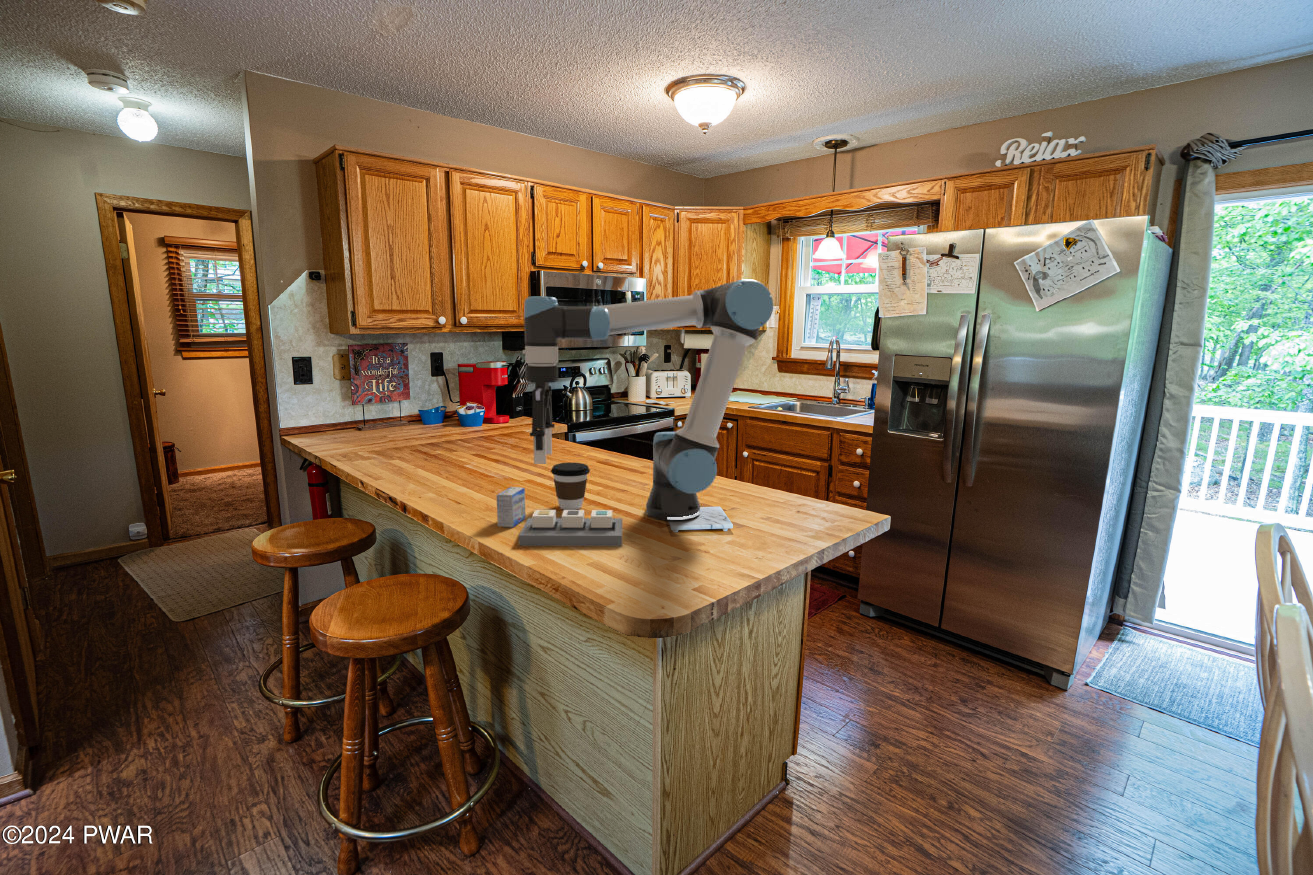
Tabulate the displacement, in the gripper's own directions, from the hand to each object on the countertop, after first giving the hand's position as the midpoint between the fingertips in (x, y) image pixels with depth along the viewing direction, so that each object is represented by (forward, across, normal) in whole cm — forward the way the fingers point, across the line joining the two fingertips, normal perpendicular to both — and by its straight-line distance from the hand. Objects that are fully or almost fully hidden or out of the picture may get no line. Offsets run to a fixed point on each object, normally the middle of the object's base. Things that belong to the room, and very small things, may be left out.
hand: (543, 458), depth 142 cm
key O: (+16, 0, +14) cm, 22 cm away
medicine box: (+20, -10, -10) cm, 24 cm away
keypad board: (+20, 0, +7) cm, 21 cm away
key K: (+16, 0, +7) cm, 18 cm away
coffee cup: (+20, -24, +4) cm, 32 cm away
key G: (+16, 0, 0) cm, 16 cm away
